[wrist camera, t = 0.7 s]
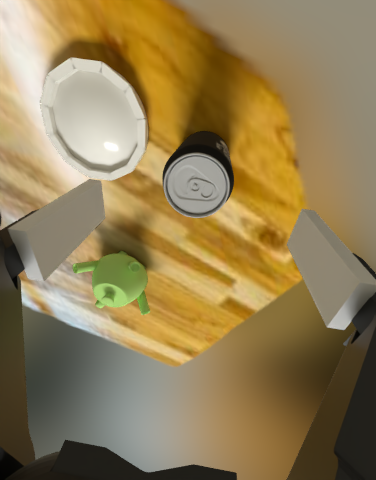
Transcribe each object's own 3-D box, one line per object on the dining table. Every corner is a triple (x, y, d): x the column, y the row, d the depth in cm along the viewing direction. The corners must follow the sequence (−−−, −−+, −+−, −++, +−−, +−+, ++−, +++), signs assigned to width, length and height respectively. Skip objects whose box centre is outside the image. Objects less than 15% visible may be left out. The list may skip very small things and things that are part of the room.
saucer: (61, 169, 32) (54, 171, 30) (38, 54, 25) (27, 51, 23) (147, 182, 31) (144, 186, 30) (149, 69, 24) (145, 67, 23)
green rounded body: (106, 287, 45) (84, 322, 38) (89, 240, 38) (60, 272, 31) (158, 289, 43) (147, 326, 36) (149, 241, 37) (133, 274, 30)
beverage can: (189, 121, 26) (171, 133, 16) (237, 142, 27) (249, 166, 17) (173, 172, 30) (150, 207, 20) (216, 189, 31) (215, 231, 21)
